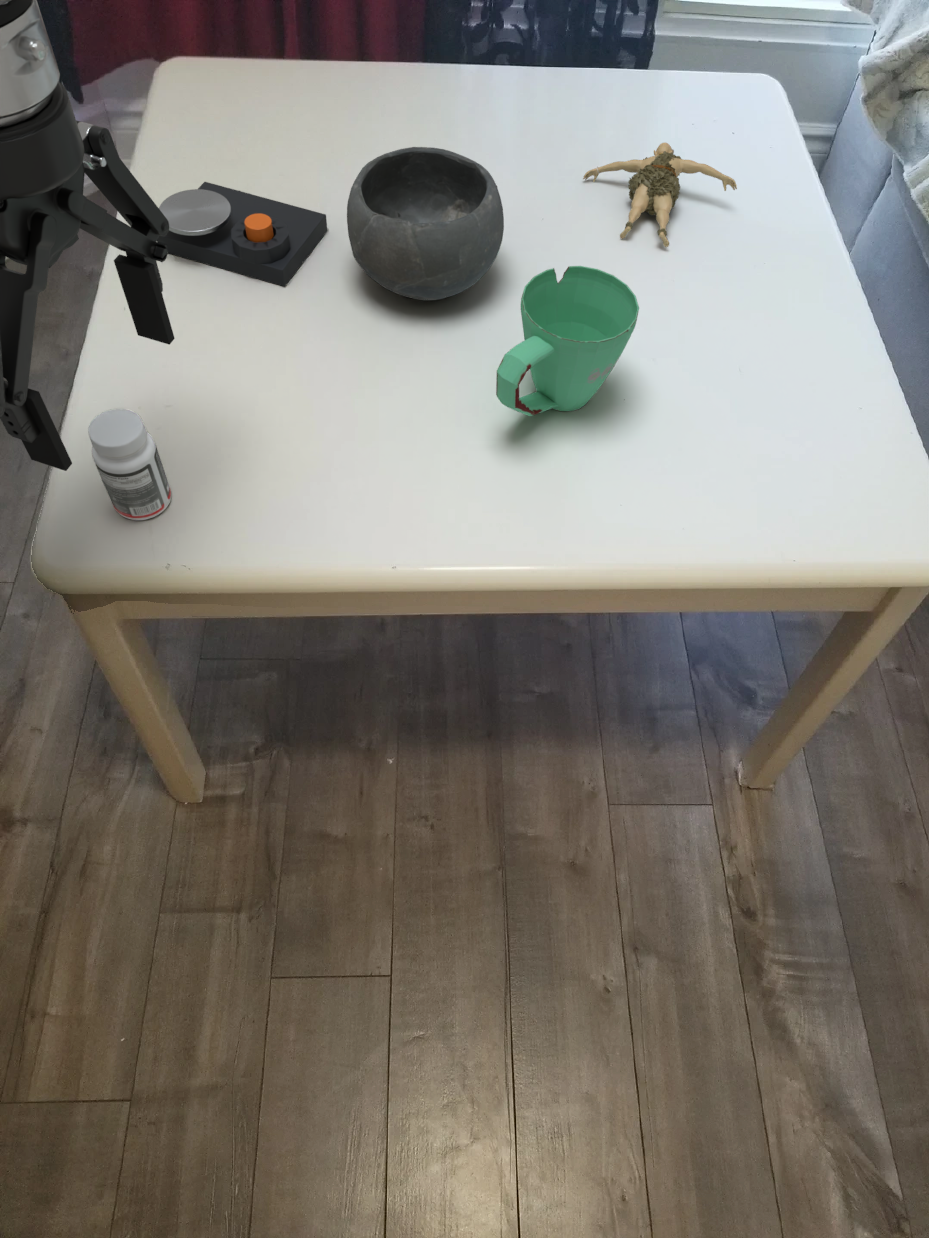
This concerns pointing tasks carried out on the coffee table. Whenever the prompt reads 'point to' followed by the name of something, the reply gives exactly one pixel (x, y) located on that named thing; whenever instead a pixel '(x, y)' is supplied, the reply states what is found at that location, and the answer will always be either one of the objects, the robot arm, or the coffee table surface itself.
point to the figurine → (657, 184)
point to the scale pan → (196, 212)
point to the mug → (567, 339)
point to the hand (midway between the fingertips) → (107, 396)
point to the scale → (254, 259)
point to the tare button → (259, 228)
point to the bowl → (425, 222)
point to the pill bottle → (129, 464)
